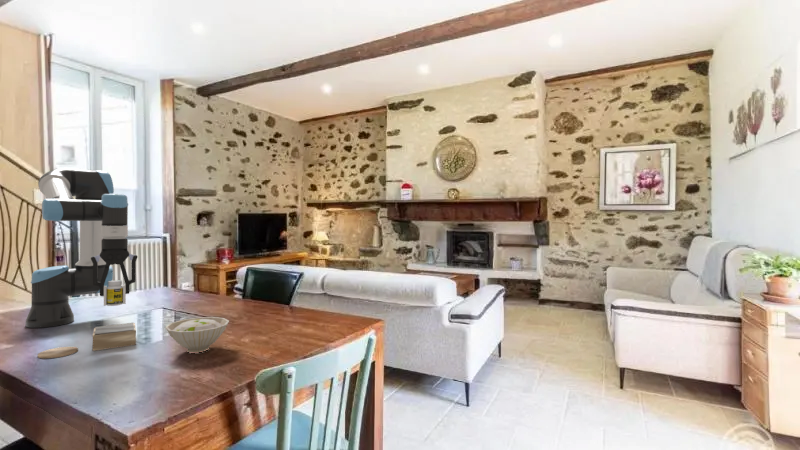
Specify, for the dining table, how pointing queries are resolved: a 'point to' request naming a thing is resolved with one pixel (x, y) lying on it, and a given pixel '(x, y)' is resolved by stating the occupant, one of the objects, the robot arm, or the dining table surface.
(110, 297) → the supplement bottle
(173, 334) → the bowl
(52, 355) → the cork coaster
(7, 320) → the dining table surface
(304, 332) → the dining table surface
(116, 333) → the beech block
